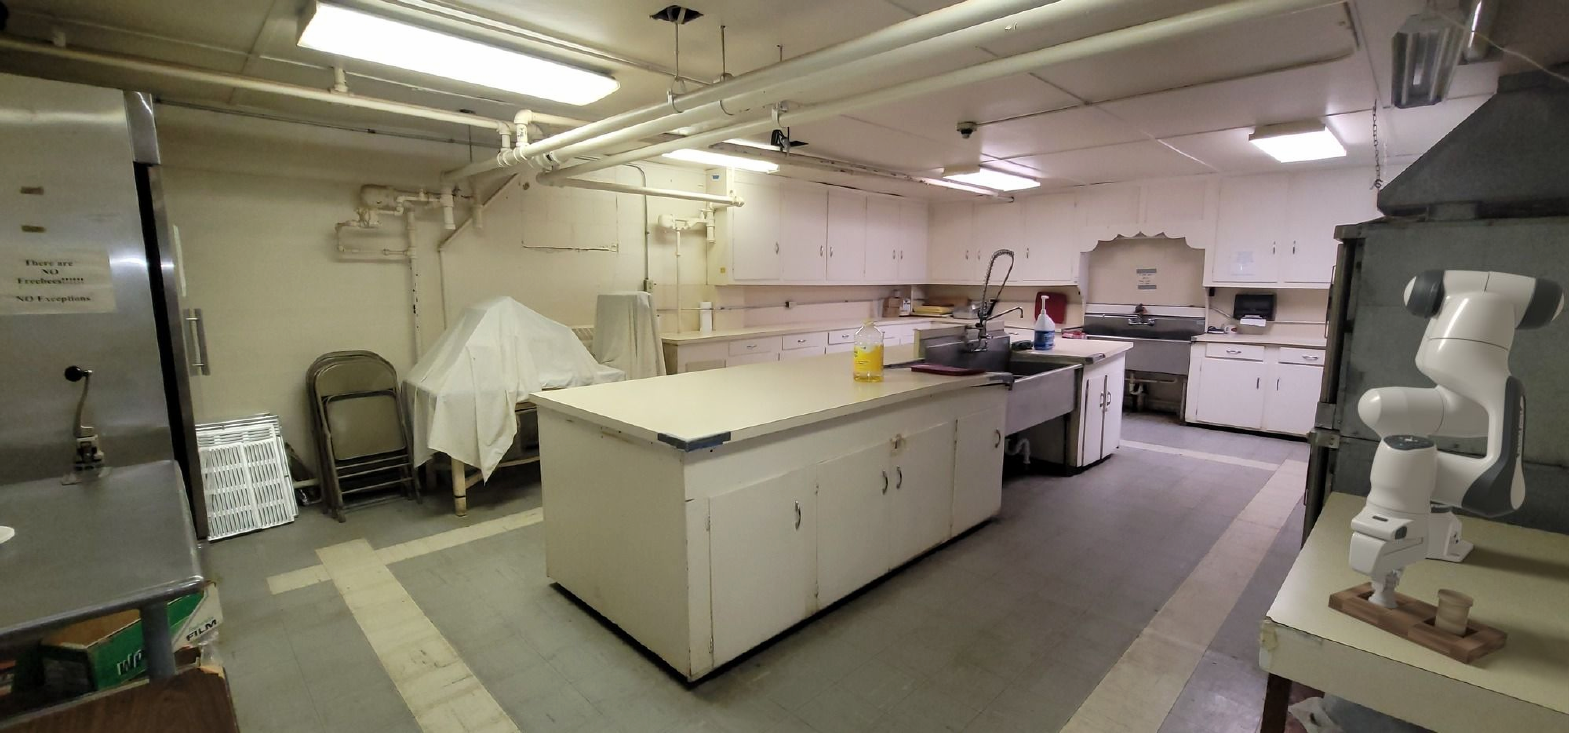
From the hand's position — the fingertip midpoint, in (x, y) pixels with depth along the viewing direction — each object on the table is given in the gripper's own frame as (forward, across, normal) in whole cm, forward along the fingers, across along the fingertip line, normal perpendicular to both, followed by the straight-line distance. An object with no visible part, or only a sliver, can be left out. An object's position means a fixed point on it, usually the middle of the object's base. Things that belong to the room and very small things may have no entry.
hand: (1384, 587), depth 122 cm
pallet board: (+5, 0, +5) cm, 7 cm away
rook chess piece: (+5, 0, 0) cm, 5 cm away
